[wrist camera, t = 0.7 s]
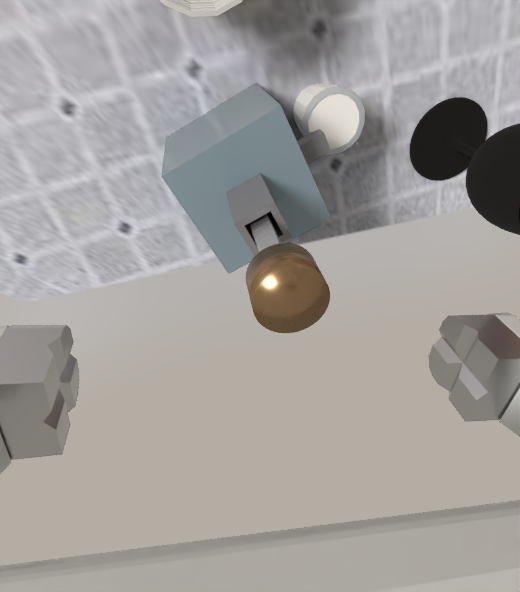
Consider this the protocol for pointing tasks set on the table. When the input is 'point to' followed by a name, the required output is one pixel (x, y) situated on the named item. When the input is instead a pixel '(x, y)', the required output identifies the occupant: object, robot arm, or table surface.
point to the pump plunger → (284, 282)
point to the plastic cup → (201, 6)
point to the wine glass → (471, 158)
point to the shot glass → (330, 114)
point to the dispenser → (245, 175)
